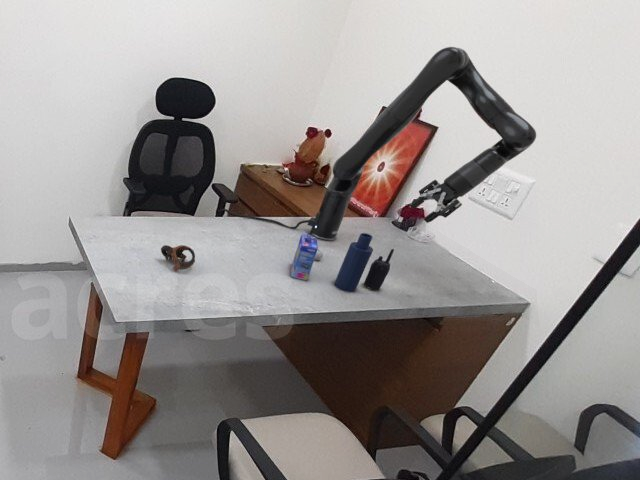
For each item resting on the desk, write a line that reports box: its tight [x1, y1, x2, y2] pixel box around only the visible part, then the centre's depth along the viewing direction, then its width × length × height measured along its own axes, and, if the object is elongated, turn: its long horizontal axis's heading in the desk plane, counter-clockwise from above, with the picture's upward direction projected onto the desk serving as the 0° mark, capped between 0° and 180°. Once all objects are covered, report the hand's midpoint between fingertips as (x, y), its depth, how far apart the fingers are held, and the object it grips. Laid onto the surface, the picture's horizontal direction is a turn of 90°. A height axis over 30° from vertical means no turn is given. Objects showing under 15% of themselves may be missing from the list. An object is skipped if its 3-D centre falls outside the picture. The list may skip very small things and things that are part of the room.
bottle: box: [334, 232, 374, 293], centre depth 168 cm, size 7×7×19 cm
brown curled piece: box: [160, 244, 196, 272], centre depth 173 cm, size 12×10×8 cm
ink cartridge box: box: [290, 231, 319, 281], centre depth 174 cm, size 10×6×14 cm, turn 161°
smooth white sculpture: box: [314, 248, 324, 261], centre depth 189 cm, size 4×8×5 cm
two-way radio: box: [363, 248, 395, 291], centre depth 170 cm, size 6×4×15 cm
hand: (418, 214), depth 172 cm, fingers open, 8 cm apart
